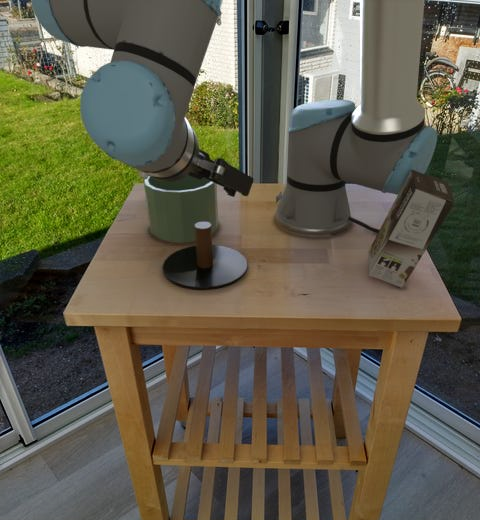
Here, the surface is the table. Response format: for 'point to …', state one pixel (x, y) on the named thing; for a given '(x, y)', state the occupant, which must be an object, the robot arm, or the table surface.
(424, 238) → the coffee box
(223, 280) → the lid
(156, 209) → the pot
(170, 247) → the table surface
